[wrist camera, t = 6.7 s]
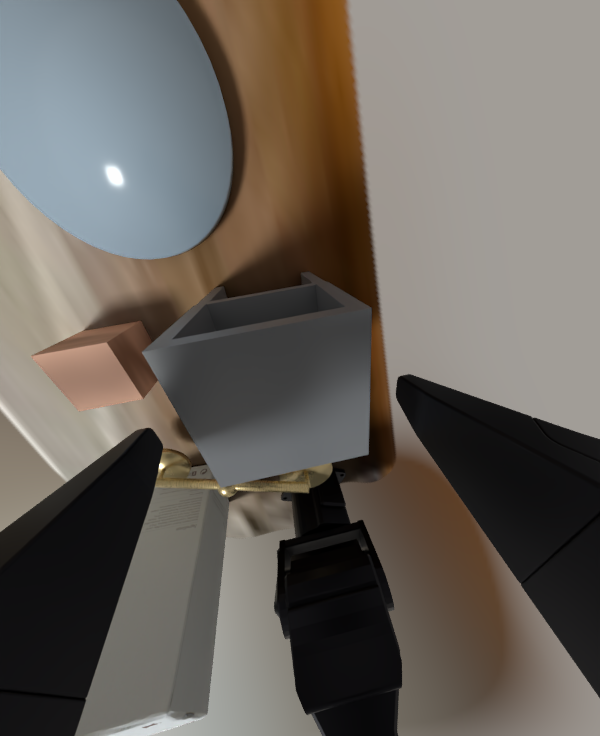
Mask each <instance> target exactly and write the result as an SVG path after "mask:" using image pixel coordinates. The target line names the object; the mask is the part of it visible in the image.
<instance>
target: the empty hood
mask: <svg viewBox="0 0 600 736" xmlns="http://www.w3.org/2000/svg"><path fill="white" fill-rule="evenodd" d="M301 281H302V285H300V286H294V287H288V288H283V289H277V290H272V291H266V292H260V293H255V294H249V295H244V296H238V297H232V298H227V295H226V292H225V289H224V286H223V287H217V288H214V289H213V290H212V291H211V292H210V293H209V294H208V295H207V296H205V297H204V298H203V299H202V300H201V301H200V302H199V303H198V304H197V305H201V304H207V307H208V310H209V312H210V315H211V318H212V321H213V323H214V326H215V329H216V331H220V330H225V329H230V328H236V327H241V326H246V325H251V324H257V323H262V322H267V321H272V320H278V319H283V318H288V317H294V316H299V315H304V314H309V313H315V312H318V304H317V294H316V285H315V283H321V282H325V281H324V280H322V279H320V278H319V277H317V276H315V275H314V274H312V273H311V272H309V271H308V272H302V273H301Z"/></svg>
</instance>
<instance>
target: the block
mask: <svg viewBox="0 0 600 736" xmlns="http://www.w3.org/2000/svg"><path fill="white" fill-rule="evenodd" d="M151 343H152V340H151V338H150V337H149V335H148V333H147V331H146V329H145V327H144V325H143V323H142V322H141V321H136V322H131V323H125V324H120V325H114V326H108V327H103V328H97V329H91V330H86V331H82V332H80V333H77V334H75V335H73V336H71V337H69V338H67V339H65V340H63V341H61V342H59V343H57V344H55V345H53V346H51V347H49V348H46V349H44V350H42V351H40V352H38V353H36V354H34V355H32V356H31V357H32V358H33V359H34V361H35V362H36V363H37V364H38V365H39V366H40V367H41V369H42V370H43V371H44V372H45V373H46V374H47V375H48V377H49V378H50V379H51V380H52V381H53V382H54V383H55V384H56V386H57V387H58V388H59V389H60V390H61V391H62V392H63V394H64V395H65V396H66V397H67V398H68V399H69V400H70V402H71V403H72V404H73V405H74V406H75V407H76V408H77V410H78V411H84V410H89V409H94V408H99V407H104V406H109V405H114V404H120V403H125V402H130V401H135V400H140V399H144V397H145V396H146V395H147V393H148V392H149V391H150V390H151V388H152V387H153V386H154V384H155V383H156V382H157V380H158V379H157V377H156V376H155V374H154V372H153V371H152V369H151V367H150V365H149V364H148V362H147V360H146V359H145V357H144V355H143V353H142V351H143V350H145V349H146V348H147V347H148V346H149V345H150V344H151Z"/></svg>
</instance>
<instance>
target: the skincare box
mask: <svg viewBox="0 0 600 736" xmlns="http://www.w3.org/2000/svg"><path fill="white" fill-rule="evenodd" d="M187 478H196V479H215V477H214V475H213V474H212V472H211V470H210V468H209V467H208V465H203V466H196V467H191V470H190V473H189V475H188V477H187ZM228 510H229V500H228V497H223V496H221V495H220V494H219V492H218V490H210V489H184V488H158V487H155V488H154V492H153V496H152V499H151V502H150V505H149V509H148V512H147V515H146V518H145V521H144V524H143V527H142V530H141V533H140V536H139V539H138V542H137V545H136V549H135V552H134V555H133V558H132V561H131V564H130V567H129V570H128V573H127V576H126V579H125V582H124V585H123V589H122V592H121V595H120V598H119V601H118V604H117V607H116V610H115V613H114V616H113V619H112V622H111V625H110V629H109V632H108V635H107V638H106V641H105V644H104V647H103V650H102V653H101V656H100V659H99V662H98V665H97V668H96V672H95V675H94V678H93V681H92V684H91V687H90V690H89V693H88V696H87V698H86V703H85V706H84V709H83V712H82V715H81V718H80V721H79V725H78V728H77V731H76V734H75V736H150V735H153V734H156V733H159V732H163V731H166V730H169V729H172V728H175V727H179V726H181V725H185V724H188V723H190V722H194V721H197V720H200V719H203V718H204V717H205V716H206V715H207V712H208V702H209V693H210V683H211V674H212V665H213V655H214V645H215V635H216V625H217V615H218V606H219V596H220V586H221V577H222V567H223V558H224V548H225V539H226V529H227V519H228Z"/></svg>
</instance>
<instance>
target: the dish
mask: <svg viewBox="0 0 600 736" xmlns="http://www.w3.org/2000/svg"><path fill="white" fill-rule="evenodd" d="M0 169H1V171H2V172H3V173H4V174H5V175H6V177H7V178H8V179H9V180H10V181H11V183H12V184H13V185H14V186H15V187H16V188H17V189H18V190H19V191H20V192H21V193H22V194H23V195H24V196H25V197H26V198H27V199H28V201H29V202H30V203H32V204H33V205H34V206H35V207H36V208H37V209H38V210H40V211H41V212H42V213H43V214H44V215H45V216H46V217H48V218H49V219H50V220H52V221H53V222H54V223H56V224H57V225H58V226H60V227H61V228H62V229H64V230H65V231H67V232H69V233H70V234H72V235H73V236H75V237H77V238H78V239H80V240H82V241H84V242H86V243H88V244H90V245H92V246H94V247H96V248H99V249H101V250H104V251H106V252H109V253H112V254H116V255H120V256H123V257H129V258H136V259H158V258H167V257H172V256H176V255H180V254H183V253H185V252H187V251H189V250H192V249H193V248H195V247H196V246H198V245H199V244H201V243H202V242H203V241H204V240H205V239H206V238H207V237H208V236H209V235H210V234H211V233H212V232H213V230H214V229H215V228H216V226H217V225H218V223H219V221H220V219H221V218H222V216H223V214H224V211H225V209H226V206H227V203H228V200H229V196H230V192H231V187H232V179H233V144H232V135H231V130H230V124H229V119H228V115H227V111H226V108H225V104H224V100H223V97H222V93H221V90H220V86H219V83H218V80H217V78H216V75H215V72H214V70H213V67H212V64H211V62H210V59H209V57H208V55H207V53H206V51H205V49H204V46H203V44H202V42H201V40H200V38H199V36H198V34H197V32H196V31H195V29H194V27H193V25H192V24H191V22H190V20H189V18H188V17H187V15H186V13H185V12H184V10H183V9H182V7H181V6H180V4H179V3H178V1H177V0H0Z"/></svg>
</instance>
